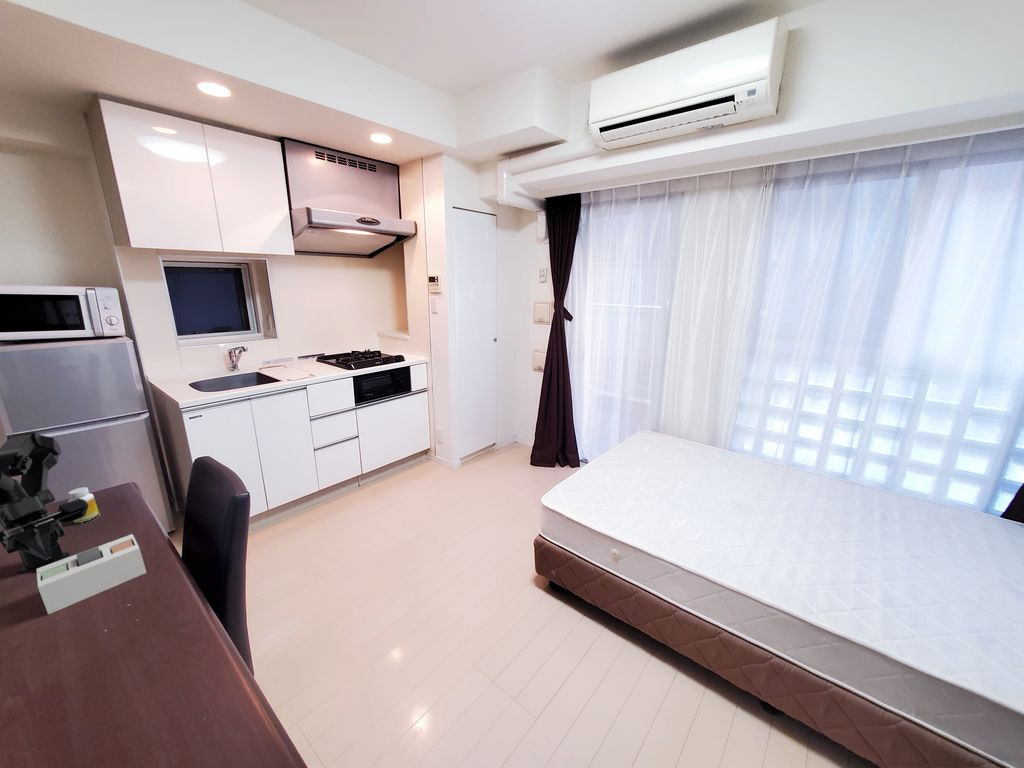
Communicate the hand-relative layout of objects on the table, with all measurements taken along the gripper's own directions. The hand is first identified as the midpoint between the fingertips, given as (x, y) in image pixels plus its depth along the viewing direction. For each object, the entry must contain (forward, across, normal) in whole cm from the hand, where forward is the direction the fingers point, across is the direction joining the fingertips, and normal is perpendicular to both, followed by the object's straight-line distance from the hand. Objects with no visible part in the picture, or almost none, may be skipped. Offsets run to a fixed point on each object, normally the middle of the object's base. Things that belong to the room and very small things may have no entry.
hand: (48, 558), depth 87 cm
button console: (+9, +5, +6) cm, 12 cm away
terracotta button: (+7, +11, +2) cm, 13 cm away
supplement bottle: (-19, +18, +34) cm, 42 cm away
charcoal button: (+5, +5, +2) cm, 7 cm away
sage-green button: (+5, 0, +4) cm, 6 cm away
